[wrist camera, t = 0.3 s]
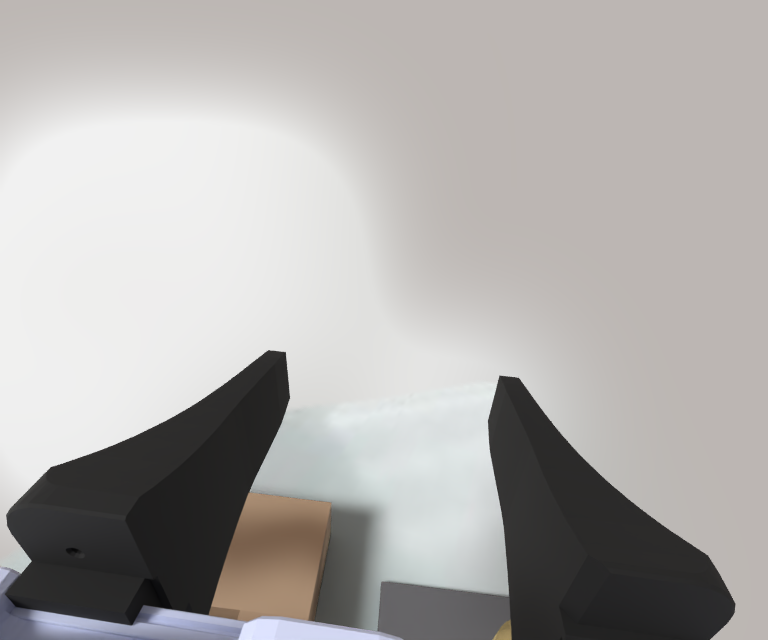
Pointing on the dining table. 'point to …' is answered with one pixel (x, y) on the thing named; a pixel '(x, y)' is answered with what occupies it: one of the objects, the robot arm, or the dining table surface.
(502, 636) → the brass pin
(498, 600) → the rubber mat
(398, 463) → the dining table surface
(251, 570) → the walnut block
